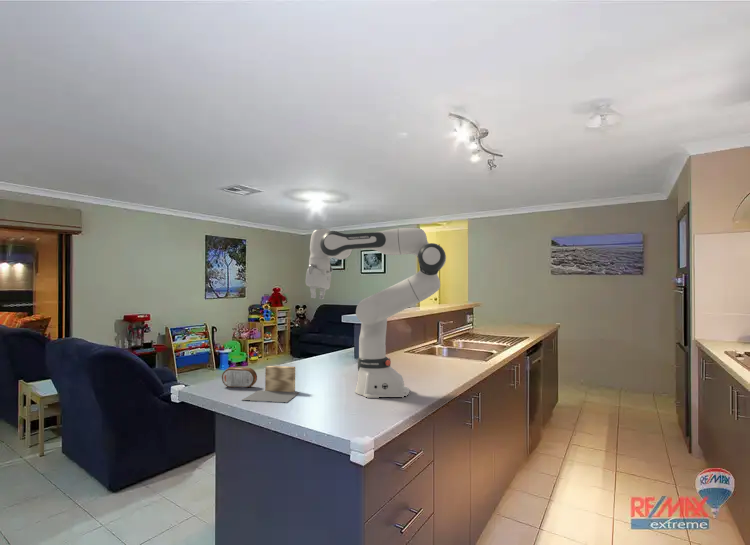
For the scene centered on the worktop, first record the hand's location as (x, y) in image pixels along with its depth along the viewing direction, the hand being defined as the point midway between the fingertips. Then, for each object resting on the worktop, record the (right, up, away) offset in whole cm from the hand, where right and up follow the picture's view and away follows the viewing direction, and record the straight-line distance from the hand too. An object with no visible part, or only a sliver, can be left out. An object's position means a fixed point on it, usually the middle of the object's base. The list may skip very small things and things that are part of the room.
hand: (317, 298), depth 158 cm
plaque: (-15, -38, -4) cm, 41 cm away
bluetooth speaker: (-34, -39, +2) cm, 52 cm away
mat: (-16, -38, -12) cm, 43 cm away
